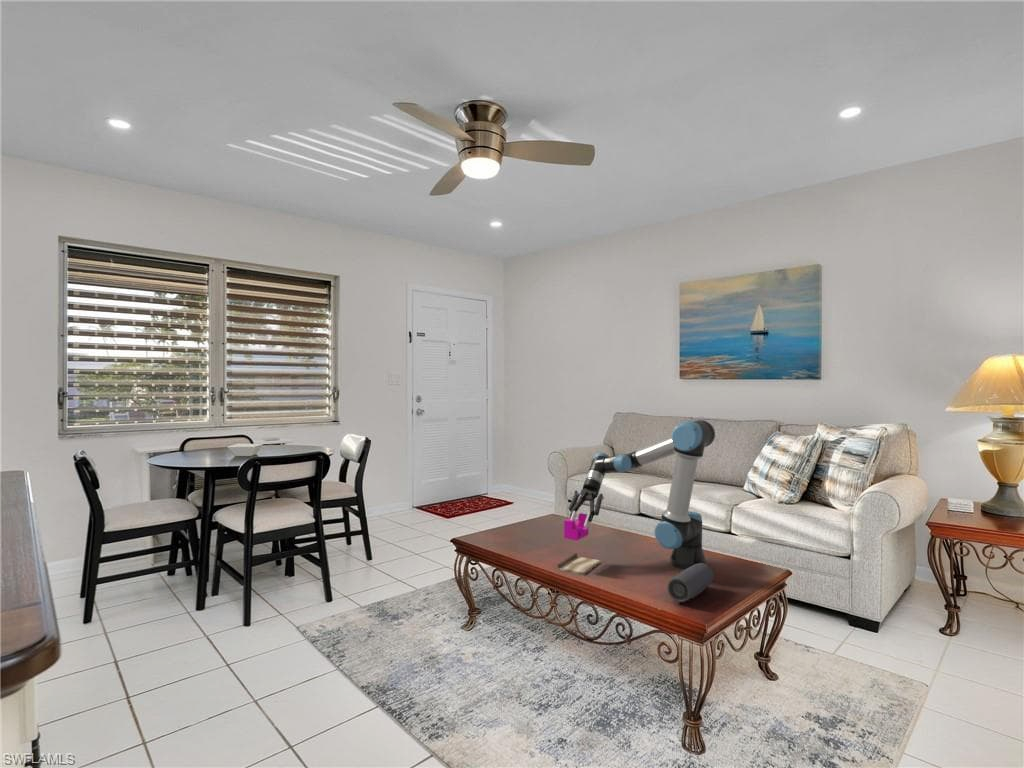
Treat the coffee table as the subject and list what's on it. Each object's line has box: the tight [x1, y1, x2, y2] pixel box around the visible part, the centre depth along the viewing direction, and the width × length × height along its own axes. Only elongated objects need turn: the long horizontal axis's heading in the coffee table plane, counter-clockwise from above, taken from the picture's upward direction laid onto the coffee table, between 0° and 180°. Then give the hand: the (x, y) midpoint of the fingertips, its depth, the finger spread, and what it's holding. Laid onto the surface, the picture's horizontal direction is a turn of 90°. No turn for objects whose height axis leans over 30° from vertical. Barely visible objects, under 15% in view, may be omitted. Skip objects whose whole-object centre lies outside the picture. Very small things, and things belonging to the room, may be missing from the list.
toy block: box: [563, 512, 589, 541], centre depth 235 cm, size 15×6×8 cm, turn 145°
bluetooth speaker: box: [667, 563, 714, 603], centre depth 202 cm, size 23×9×10 cm, turn 139°
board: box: [557, 552, 601, 576], centre depth 235 cm, size 12×18×2 cm, turn 149°
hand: (577, 526), depth 234 cm, fingers closed on toy block, 6 cm apart
